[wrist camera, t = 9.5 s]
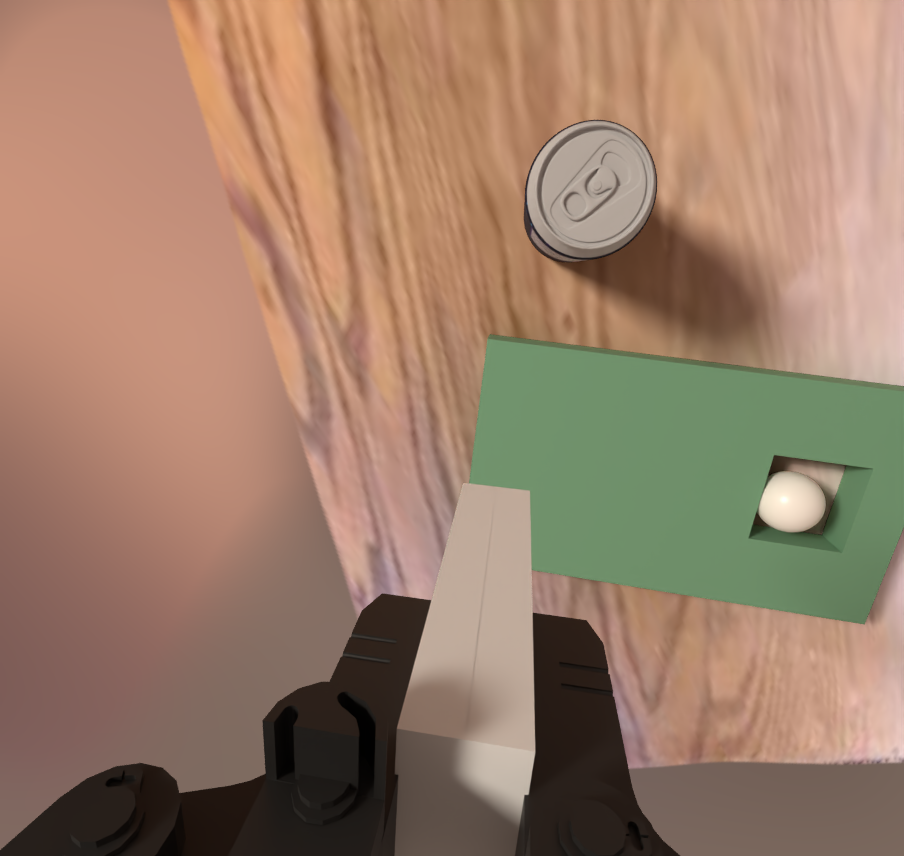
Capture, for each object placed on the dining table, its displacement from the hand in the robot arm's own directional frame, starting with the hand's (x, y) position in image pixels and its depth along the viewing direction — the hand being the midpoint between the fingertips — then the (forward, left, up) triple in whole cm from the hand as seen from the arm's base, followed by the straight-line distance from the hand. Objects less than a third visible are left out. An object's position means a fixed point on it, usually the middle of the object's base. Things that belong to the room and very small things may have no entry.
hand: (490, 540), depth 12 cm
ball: (+7, +18, -25) cm, 31 cm away
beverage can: (-10, +2, -26) cm, 28 cm away
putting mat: (+6, +12, -26) cm, 29 cm away
